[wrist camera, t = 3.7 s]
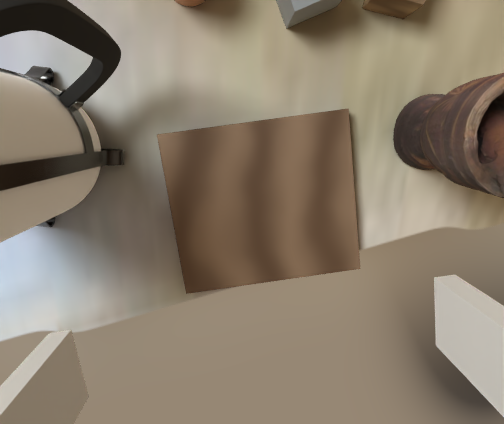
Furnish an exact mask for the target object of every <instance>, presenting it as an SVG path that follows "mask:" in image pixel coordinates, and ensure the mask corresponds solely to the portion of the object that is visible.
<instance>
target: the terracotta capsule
mask: <svg viewBox="0 0 504 424" xmlns="http://www.w3.org/2000/svg"><path fill="white" fill-rule="evenodd" d="M174 1H176V2H177V3H179V4H181V5H183V6H189V7H191V6H197V5H199V4H201V3H203V2H204V1H205V0H174Z"/></svg>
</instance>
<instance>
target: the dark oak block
mask: <svg viewBox="0 0 504 424" xmlns="http://www.w3.org/2000/svg"><path fill="white" fill-rule="evenodd" d="M424 3H425V0H364V4H363V7H362V8H363V9H367V10H371V11H374V12H378V13H382V14H386V15H389V16H393V17H397V18H401V19H404V18H405V17H407V16H408V15H410V14H411V13H413V12H414V11H416V10H417V9H419V8H420V7H422V6H423V5H424Z"/></svg>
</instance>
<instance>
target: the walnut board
mask: <svg viewBox="0 0 504 424" xmlns="http://www.w3.org/2000/svg"><path fill="white" fill-rule="evenodd" d="M157 138H158V143H159V148H160V154H161V159H162V165H163V170H164V176H165V181H166V186H167V192H168V197H169V203H170V208H171V213H172V219H173V224H174V230H175V235H176V240H177V246H178V251H179V257H180V262H181V267H182V273H183V278H184V284H185V289H186V294H187V293H194V292H201V291H208V290H215V289H222V288H229V287H236V286H242V285H249V284H256V283H263V282H270V281H277V280H284V279H291V278H298V277H305V276H312V275H319V274H326V273H333V272H340V271H347V270H354V269H360V259H359V245H358V232H357V218H356V204H355V190H354V177H353V163H352V149H351V136H350V122H349V109H342V110H335V111H328V112H320V113H313V114H305V115H298V116H291V117H283V118H276V119H269V120H261V121H254V122H246V123H239V124H232V125H224V126H217V127H210V128H202V129H195V130H187V131H180V132H173V133H165V134H158V135H157Z"/></svg>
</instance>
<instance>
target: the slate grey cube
mask: <svg viewBox="0 0 504 424" xmlns="http://www.w3.org/2000/svg"><path fill="white" fill-rule="evenodd" d="M276 1H277V4H278V7H279V10H280V12H281V15H282V18H283V21H284V23H285V26H286V28H289V27H291V26H293V25H296V24H298V23H300V22H302V21H305V20H307V19H309V18H312V17H314V16H316V15H319V14H321V13H323V12H325V11H328V10H330V9H332V8H335V7H337V6H338V4H339V3H340V2H341V1H342V0H276Z"/></svg>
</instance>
